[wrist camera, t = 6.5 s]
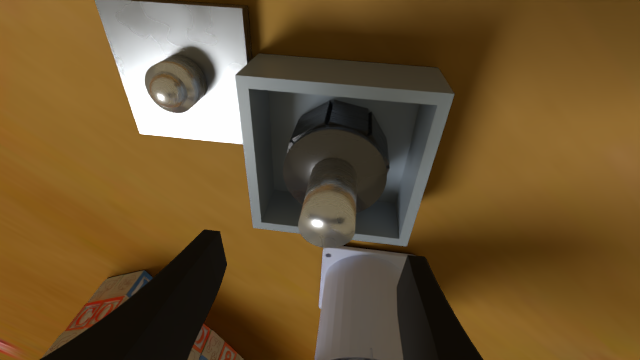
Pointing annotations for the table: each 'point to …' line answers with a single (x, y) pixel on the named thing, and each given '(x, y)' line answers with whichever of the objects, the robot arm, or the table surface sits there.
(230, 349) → the stack of blocks
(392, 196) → the bin
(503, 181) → the table surface
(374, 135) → the dark grey stepped cylinder
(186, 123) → the stud mount
